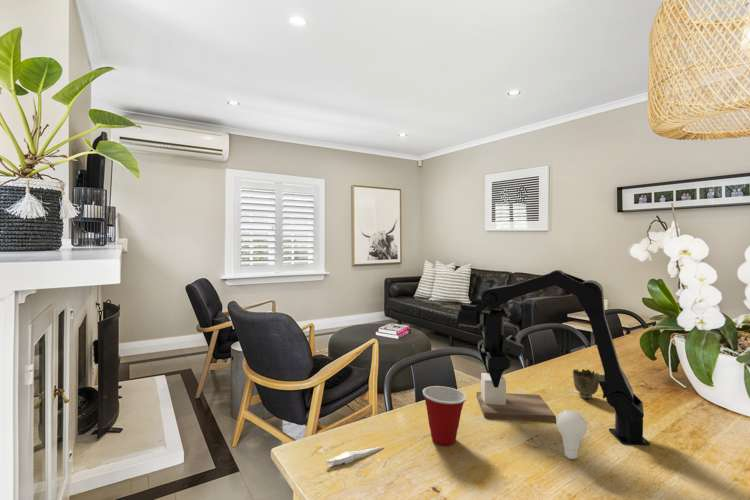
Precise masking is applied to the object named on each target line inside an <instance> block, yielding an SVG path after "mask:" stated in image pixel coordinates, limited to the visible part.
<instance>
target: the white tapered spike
mask: <svg viewBox="0 0 750 500" xmlns="http://www.w3.org/2000/svg"><path fill="white" fill-rule="evenodd" d="M384 448H385V446H379V447H373V448H372V447H371V448H367V449H361V450H354V451H351V450H346V451H344V452H342V453H341V454H339V455H336V456H334V457H332V458H331V459H326V461H325V462H326V464H328V466H327V468H332V467H333V466H339V465H344V464H345V465H347V464H350V463H352V462H354V461H355V460H358V459H361V458H365V457H366V456H369V455H371V454H373V453H376V452H379V451H380V450H383V449H384Z"/></svg>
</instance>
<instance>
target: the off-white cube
mask: <svg viewBox="0 0 750 500" xmlns="http://www.w3.org/2000/svg"><path fill="white" fill-rule="evenodd" d="M480 382H481V383H480V392H481V396H482V399H483V401H484V403H485V404H499V405H506V393H507V380H506V379H505V378H504V376H503V375H502V376H501V379H500V382H499V386H498V387H494V386H493V383H492V380H491V377H490V374H489V373H487V372H481V373H480Z"/></svg>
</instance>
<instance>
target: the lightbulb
mask: <svg viewBox="0 0 750 500" xmlns="http://www.w3.org/2000/svg"><path fill="white" fill-rule="evenodd" d="M555 422H556V427H557V429H558V431H559V433H560V435H561V437H562V445H563V447H564V448H563V449H564V451H563V452H564V455H565V457H567V458H568V459H569V460H574V459H577V458H578V450H579V449H580V443H581V440H582V439H583V438H584V436H585V435H586V433H587V429H588V426H587V422H586V419H585V418H584V417H583V415H581V413H580V412H578V411H576V410H573V409H564V410H562V411H560V412H559V413H558V414H557V416H556V421H555Z"/></svg>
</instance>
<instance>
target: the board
mask: <svg viewBox="0 0 750 500" xmlns="http://www.w3.org/2000/svg"><path fill="white" fill-rule="evenodd" d="M476 399H477V401H478V404H479V407H480V410H481V413H482V415H483V417H484V418H486V419H504V420H505V419H507V420H524V421H525V420H526V421H527V420H528V421H543V422H544V421H545V422H546V421H547V422H556V419H557V416H556V414H555V413H554V412H553V410H552V409H551V408H550V406H549V405H548V404H547V403H546V402H545V400H544V399H543V397H542V396H541V395H540V394H530V393H529V394H528V393H510V392H506V405H499V404H485V403H484V401H483V399H482V396H481V391H477V392H476Z"/></svg>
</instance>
